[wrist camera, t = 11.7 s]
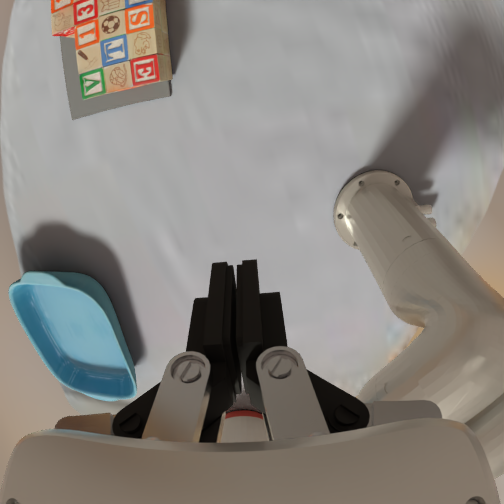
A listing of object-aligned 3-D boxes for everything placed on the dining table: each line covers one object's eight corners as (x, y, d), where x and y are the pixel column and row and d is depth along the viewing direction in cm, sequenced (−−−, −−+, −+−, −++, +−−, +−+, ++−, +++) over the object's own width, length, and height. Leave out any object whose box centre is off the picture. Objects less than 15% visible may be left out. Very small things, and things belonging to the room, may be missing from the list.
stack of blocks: (161, 82, 26) (60, 108, 27) (174, 79, 32) (85, 101, 32) (149, -84, 15) (50, -46, 15) (162, -65, 20) (73, -36, 20)
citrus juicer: (278, 427, 80) (283, 488, 63) (219, 429, 80) (217, 490, 63) (278, 403, 71) (285, 475, 55) (209, 406, 71) (206, 477, 55)
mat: (155, -76, 19) (154, -77, 18) (171, 95, 33) (170, 96, 33) (59, -41, 19) (57, -41, 19) (74, 119, 34) (72, 120, 33)
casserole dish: (11, 249, 45) (-9, 272, 39) (108, 249, 45) (92, 277, 39) (72, 371, 65) (64, 393, 59) (152, 382, 66) (147, 407, 60)
